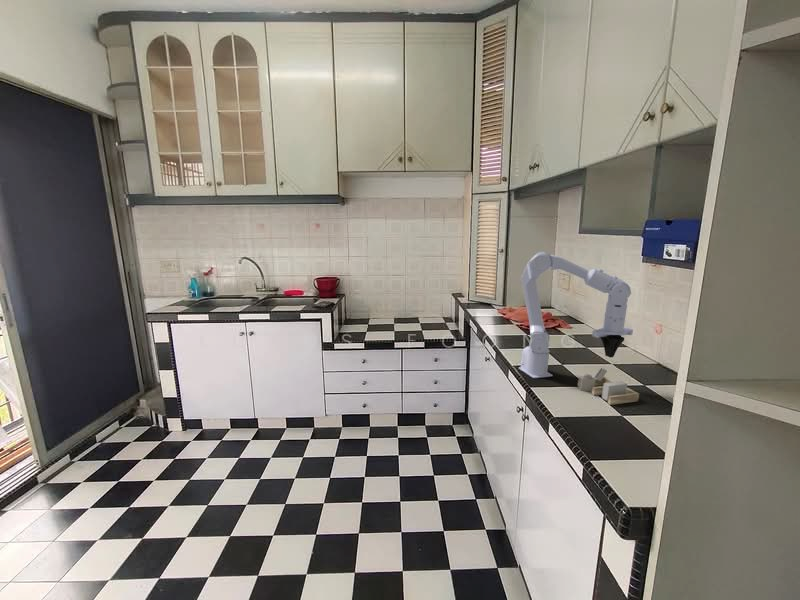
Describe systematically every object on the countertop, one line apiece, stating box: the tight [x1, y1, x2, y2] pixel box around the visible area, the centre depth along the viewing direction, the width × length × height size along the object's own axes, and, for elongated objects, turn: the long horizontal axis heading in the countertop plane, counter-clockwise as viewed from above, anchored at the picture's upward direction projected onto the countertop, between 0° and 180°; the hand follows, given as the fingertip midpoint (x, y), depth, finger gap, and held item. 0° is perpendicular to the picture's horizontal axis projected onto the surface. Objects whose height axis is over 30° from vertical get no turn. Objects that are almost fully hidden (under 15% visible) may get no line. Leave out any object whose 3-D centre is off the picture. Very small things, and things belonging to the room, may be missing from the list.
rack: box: [577, 375, 640, 406], centre depth 112 cm, size 13×11×2 cm
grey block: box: [601, 380, 628, 402], centre depth 109 cm, size 2×7×5 cm, turn 105°
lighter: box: [578, 367, 608, 393], centre depth 114 cm, size 7×2×8 cm, turn 79°
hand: (609, 356), depth 116 cm, fingers closed
